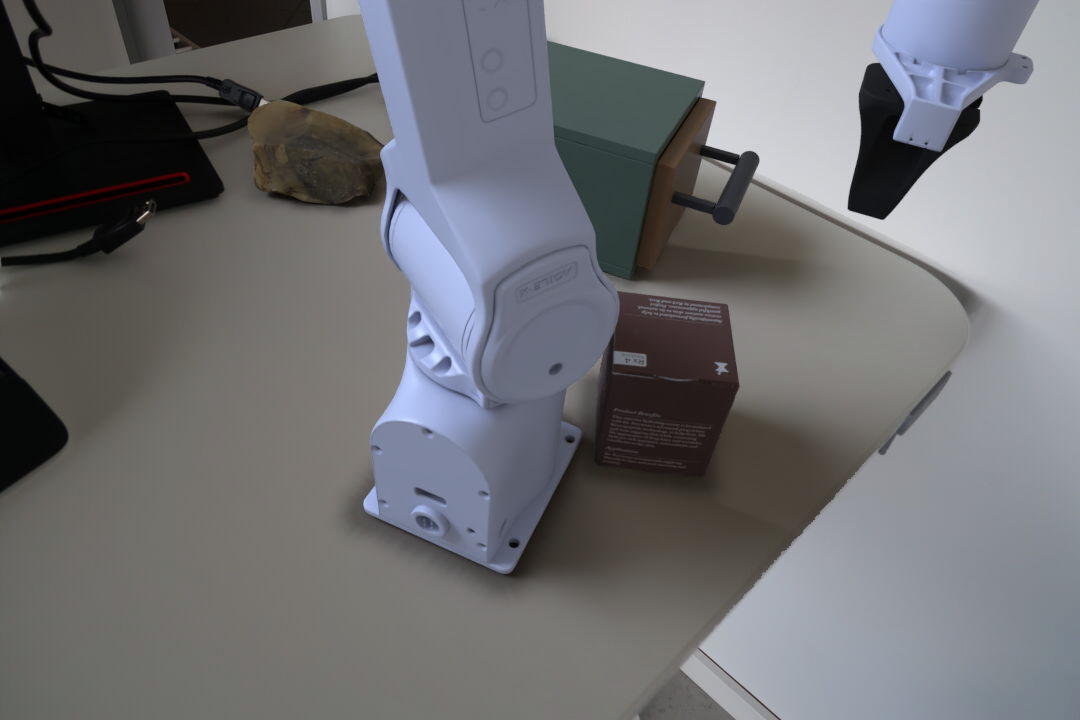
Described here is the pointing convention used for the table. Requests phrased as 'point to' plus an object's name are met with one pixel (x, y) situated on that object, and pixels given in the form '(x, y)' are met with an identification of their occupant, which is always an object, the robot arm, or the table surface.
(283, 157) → the decorative stone
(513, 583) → the table surface
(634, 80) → the cabinet
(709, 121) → the drawer
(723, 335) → the box
